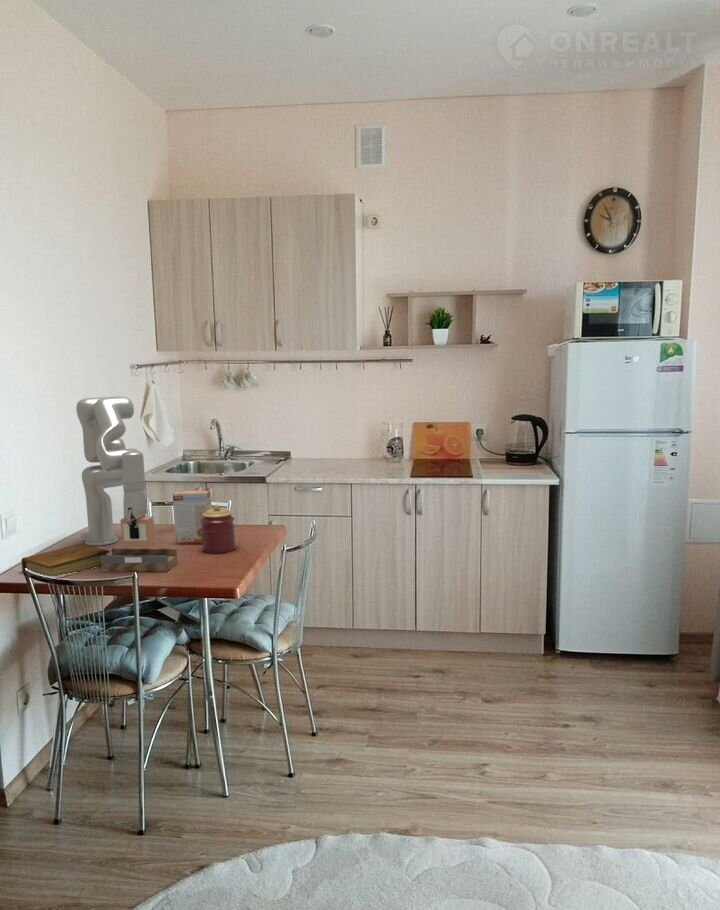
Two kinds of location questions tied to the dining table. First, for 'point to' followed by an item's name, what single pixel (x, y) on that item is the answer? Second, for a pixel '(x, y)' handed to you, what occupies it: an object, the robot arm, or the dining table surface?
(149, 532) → the carton
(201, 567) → the dining table surface
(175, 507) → the cracker box
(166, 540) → the dining table surface
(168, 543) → the dining table surface
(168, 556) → the wooden storage tray
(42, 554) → the diary
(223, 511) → the canister
